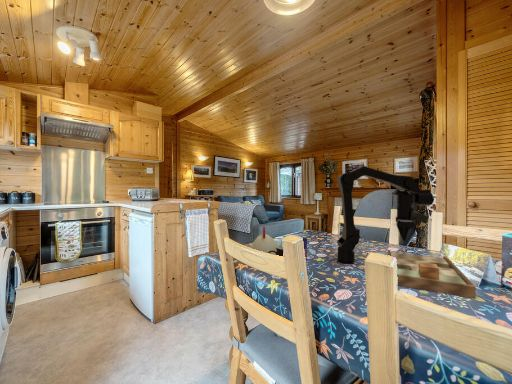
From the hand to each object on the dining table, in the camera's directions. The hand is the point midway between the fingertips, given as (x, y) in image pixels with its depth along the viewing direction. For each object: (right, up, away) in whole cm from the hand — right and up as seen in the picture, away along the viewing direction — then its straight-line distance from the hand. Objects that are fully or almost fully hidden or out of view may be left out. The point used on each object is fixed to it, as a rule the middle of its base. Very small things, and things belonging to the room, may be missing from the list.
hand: (404, 240), depth 102 cm
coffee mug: (-54, -11, -10) cm, 56 cm away
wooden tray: (-1, -10, -11) cm, 15 cm away
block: (-6, -8, -22) cm, 24 cm away
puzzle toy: (-48, -10, +3) cm, 49 cm away
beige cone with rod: (-61, -10, +7) cm, 63 cm away
